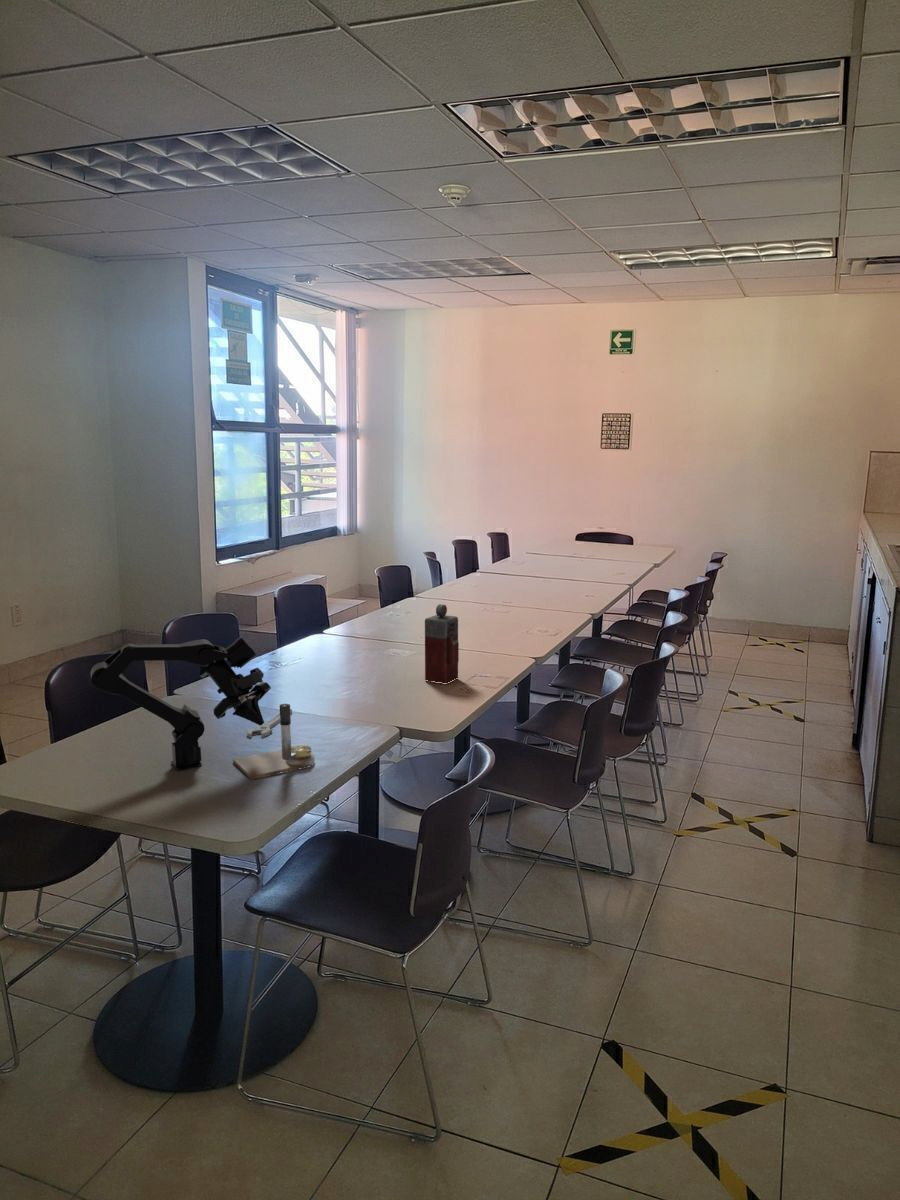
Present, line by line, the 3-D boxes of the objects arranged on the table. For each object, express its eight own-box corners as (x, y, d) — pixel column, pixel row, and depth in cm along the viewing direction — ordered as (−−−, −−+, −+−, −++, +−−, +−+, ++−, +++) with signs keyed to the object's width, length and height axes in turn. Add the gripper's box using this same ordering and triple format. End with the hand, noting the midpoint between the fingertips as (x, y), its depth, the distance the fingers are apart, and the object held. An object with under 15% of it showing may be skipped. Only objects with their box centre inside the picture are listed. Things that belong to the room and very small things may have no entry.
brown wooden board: (251, 779, 217) (250, 772, 217) (233, 762, 228) (232, 755, 228) (319, 765, 227) (319, 757, 227) (298, 749, 238) (298, 742, 238)
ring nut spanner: (296, 749, 232) (294, 694, 229) (316, 753, 229) (314, 697, 226) (273, 762, 222) (271, 705, 219) (294, 766, 220) (292, 708, 217)
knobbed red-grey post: (451, 685, 301) (451, 608, 296) (424, 681, 307) (424, 605, 302) (463, 679, 309) (464, 604, 304) (437, 675, 314) (437, 601, 309)
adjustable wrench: (286, 713, 273) (285, 707, 272) (304, 715, 271) (303, 709, 270) (243, 737, 249) (243, 731, 249) (263, 740, 247) (262, 734, 247)
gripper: (220, 669, 215) (258, 716, 212) (263, 652, 232) (299, 696, 229) (197, 695, 219) (234, 742, 217) (241, 677, 236) (275, 720, 234)
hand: (262, 724), depth 224 cm, fingers closed
